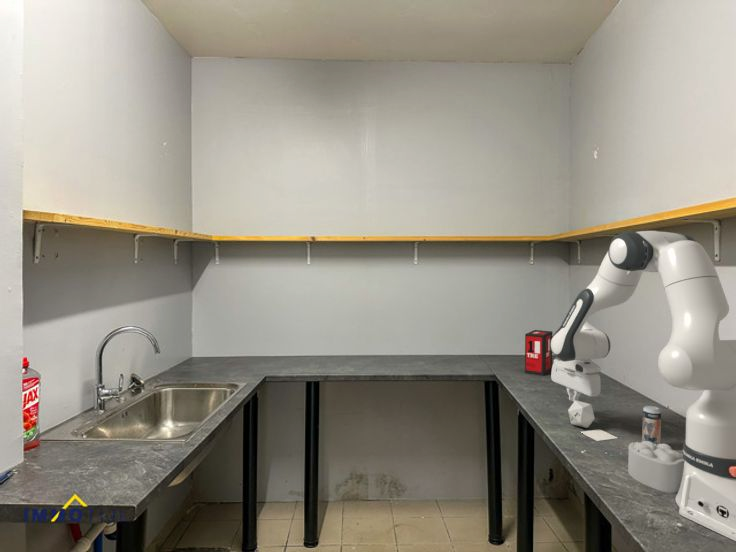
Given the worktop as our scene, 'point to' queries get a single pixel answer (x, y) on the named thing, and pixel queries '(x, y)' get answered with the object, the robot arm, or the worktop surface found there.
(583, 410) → the die
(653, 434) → the beer can
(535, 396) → the worktop surface
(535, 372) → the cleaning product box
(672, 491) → the lumpy-topped squat cylinder
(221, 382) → the worktop surface
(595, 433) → the pad
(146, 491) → the worktop surface
